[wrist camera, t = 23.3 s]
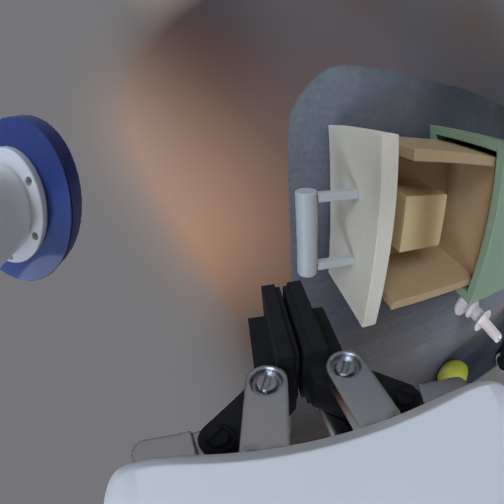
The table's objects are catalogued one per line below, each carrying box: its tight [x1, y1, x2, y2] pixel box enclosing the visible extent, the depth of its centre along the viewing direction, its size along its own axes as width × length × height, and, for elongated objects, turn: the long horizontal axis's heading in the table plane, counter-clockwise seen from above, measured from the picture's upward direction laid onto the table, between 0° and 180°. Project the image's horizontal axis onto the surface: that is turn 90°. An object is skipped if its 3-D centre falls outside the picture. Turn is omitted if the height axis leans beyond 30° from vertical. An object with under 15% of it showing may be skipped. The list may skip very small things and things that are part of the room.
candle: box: [454, 296, 502, 343], centre depth 29 cm, size 5×5×10 cm
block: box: [391, 179, 447, 252], centre depth 20 cm, size 4×4×4 cm
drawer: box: [295, 125, 497, 327], centre depth 19 cm, size 18×14×8 cm
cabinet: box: [430, 125, 504, 305], centre depth 20 cm, size 15×15×10 cm
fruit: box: [438, 360, 468, 381], centre depth 37 cm, size 7×7×12 cm
